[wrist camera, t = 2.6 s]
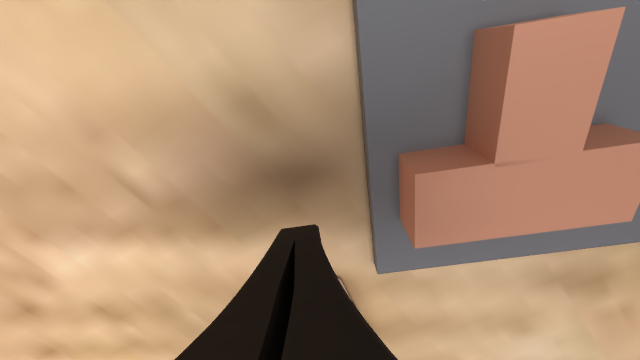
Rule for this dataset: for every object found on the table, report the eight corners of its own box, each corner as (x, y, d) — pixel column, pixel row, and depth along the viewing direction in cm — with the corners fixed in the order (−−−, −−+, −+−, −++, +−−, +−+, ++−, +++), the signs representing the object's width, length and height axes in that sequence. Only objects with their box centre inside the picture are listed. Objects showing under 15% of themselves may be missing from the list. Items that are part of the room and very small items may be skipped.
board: (1155, -776, 6) (1317, -935, 5) (657, 227, 17) (677, 237, 16) (309, -535, 7) (308, -630, 6) (374, 262, 18) (377, 274, 17)
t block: (645, 1, 11) (733, -12, 8) (583, 194, 15) (631, 221, 12) (395, 42, 11) (415, 41, 9) (400, 219, 15) (414, 248, 13)
